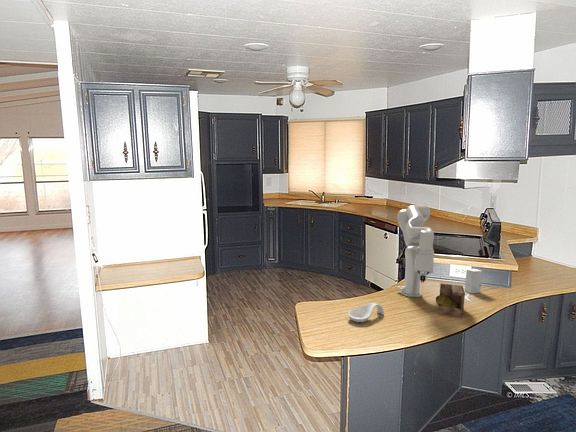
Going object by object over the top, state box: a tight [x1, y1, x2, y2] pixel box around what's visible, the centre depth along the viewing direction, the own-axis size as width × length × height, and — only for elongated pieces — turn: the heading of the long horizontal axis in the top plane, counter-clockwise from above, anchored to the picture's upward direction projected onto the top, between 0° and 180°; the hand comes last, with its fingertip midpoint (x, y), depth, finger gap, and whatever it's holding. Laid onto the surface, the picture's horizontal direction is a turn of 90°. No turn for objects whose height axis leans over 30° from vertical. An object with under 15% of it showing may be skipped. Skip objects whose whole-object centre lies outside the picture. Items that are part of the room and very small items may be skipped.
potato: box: [435, 294, 459, 309], centre depth 242 cm, size 8×13×8 cm, turn 26°
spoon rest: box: [347, 302, 385, 323], centre depth 229 cm, size 24×12×7 cm, turn 128°
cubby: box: [439, 282, 466, 318], centre depth 241 cm, size 12×14×14 cm
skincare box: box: [464, 268, 483, 294], centre depth 275 cm, size 8×6×15 cm
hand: (422, 281), depth 245 cm, fingers closed
